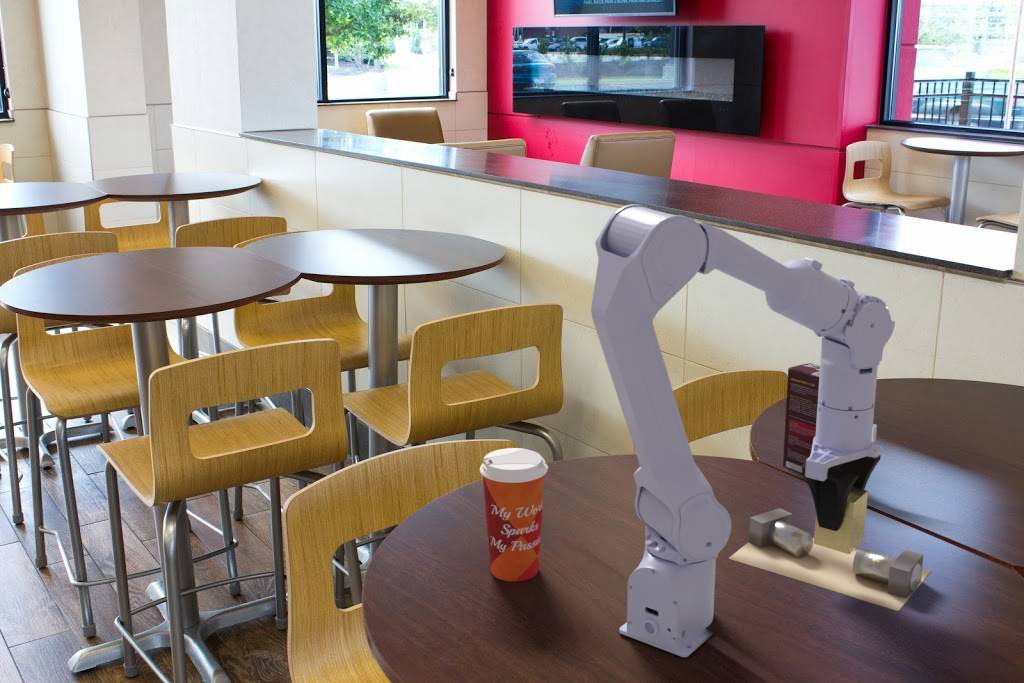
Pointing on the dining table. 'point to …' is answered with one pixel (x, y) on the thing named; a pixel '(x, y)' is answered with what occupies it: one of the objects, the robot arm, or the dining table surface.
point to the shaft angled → (790, 538)
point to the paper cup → (514, 511)
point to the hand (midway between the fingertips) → (837, 520)
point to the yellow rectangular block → (846, 525)
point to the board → (828, 566)
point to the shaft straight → (880, 567)
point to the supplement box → (800, 414)
